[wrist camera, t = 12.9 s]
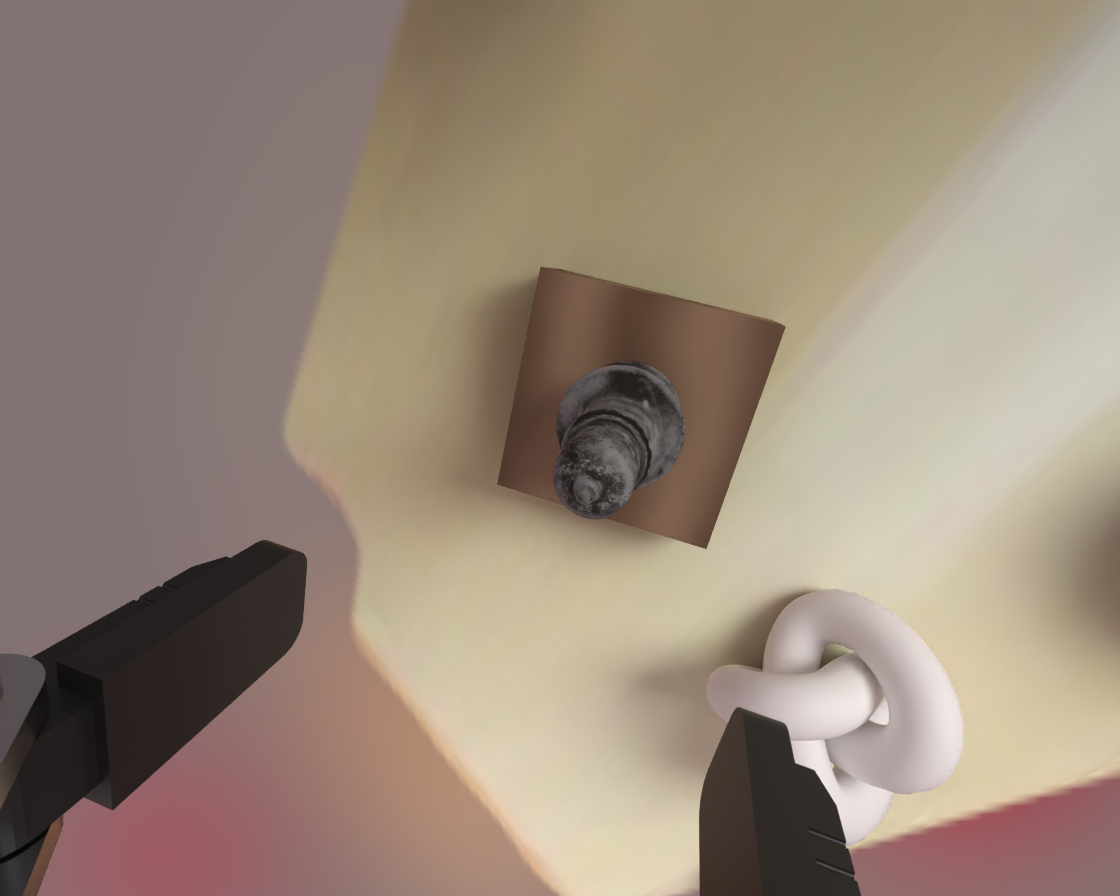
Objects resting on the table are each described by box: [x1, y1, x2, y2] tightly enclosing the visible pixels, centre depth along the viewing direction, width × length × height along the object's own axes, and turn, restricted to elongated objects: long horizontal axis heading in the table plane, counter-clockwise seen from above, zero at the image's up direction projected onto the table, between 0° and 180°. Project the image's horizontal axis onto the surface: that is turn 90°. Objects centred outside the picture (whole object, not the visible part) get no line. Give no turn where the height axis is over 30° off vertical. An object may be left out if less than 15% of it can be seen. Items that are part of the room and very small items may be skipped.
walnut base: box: [498, 267, 786, 549], centre depth 30 cm, size 12×12×4 cm
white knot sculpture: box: [705, 589, 964, 846], centre depth 30 cm, size 11×12×9 cm
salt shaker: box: [553, 361, 685, 519], centre depth 22 cm, size 6×6×12 cm
